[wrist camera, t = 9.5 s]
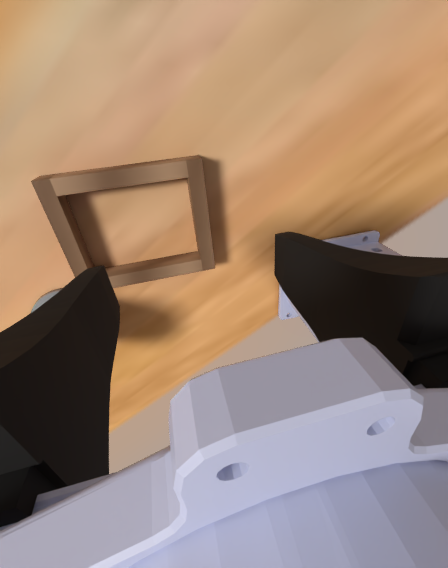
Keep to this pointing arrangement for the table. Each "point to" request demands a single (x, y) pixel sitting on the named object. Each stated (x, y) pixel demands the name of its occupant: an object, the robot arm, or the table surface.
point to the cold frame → (62, 184)
